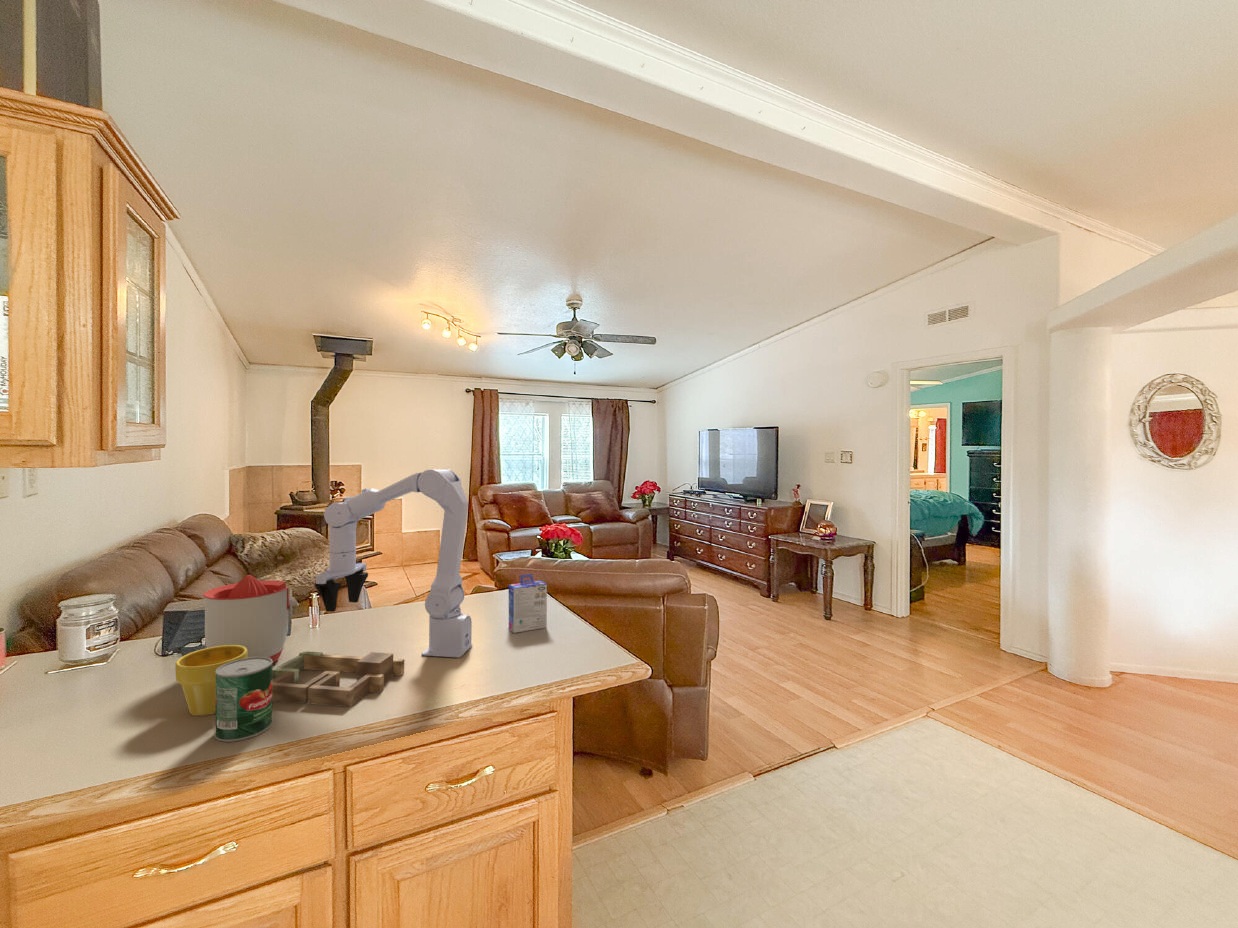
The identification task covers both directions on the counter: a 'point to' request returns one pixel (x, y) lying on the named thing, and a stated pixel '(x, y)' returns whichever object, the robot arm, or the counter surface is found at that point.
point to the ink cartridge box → (527, 605)
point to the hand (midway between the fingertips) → (342, 606)
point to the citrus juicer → (249, 616)
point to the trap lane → (325, 680)
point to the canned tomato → (243, 698)
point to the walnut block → (376, 665)
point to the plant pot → (204, 675)
